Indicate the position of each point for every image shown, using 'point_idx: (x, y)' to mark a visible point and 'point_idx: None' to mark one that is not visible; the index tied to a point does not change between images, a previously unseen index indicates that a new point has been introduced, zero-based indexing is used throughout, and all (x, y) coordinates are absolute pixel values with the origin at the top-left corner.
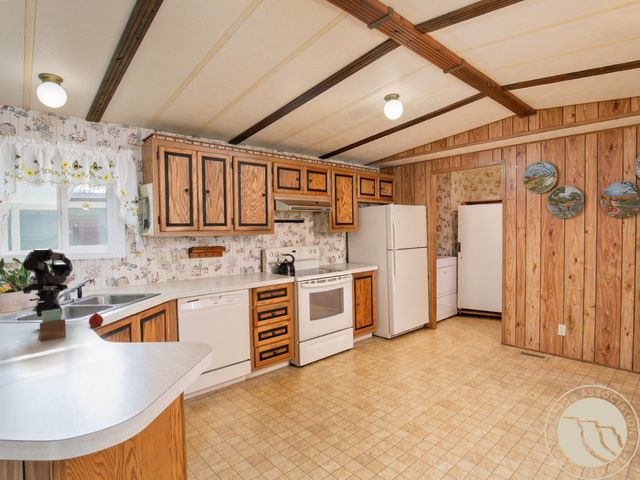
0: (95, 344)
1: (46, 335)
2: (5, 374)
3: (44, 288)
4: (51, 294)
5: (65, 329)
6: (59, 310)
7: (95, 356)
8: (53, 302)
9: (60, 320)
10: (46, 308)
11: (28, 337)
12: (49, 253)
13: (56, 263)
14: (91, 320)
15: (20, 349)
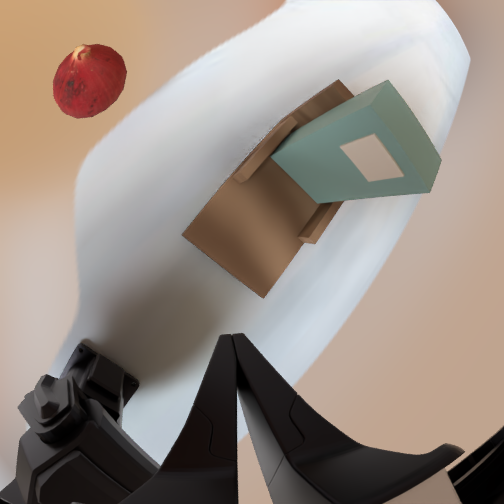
0: (312, 14)
1: None
2: (450, 126)
3: (456, 492)
4: (236, 465)
5: (306, 101)
6: (388, 85)
7: (371, 9)
8: (77, 452)
9: (353, 96)
10: (130, 444)
11: (254, 339)
12: None
13: None
14: (121, 73)
15: (377, 218)
